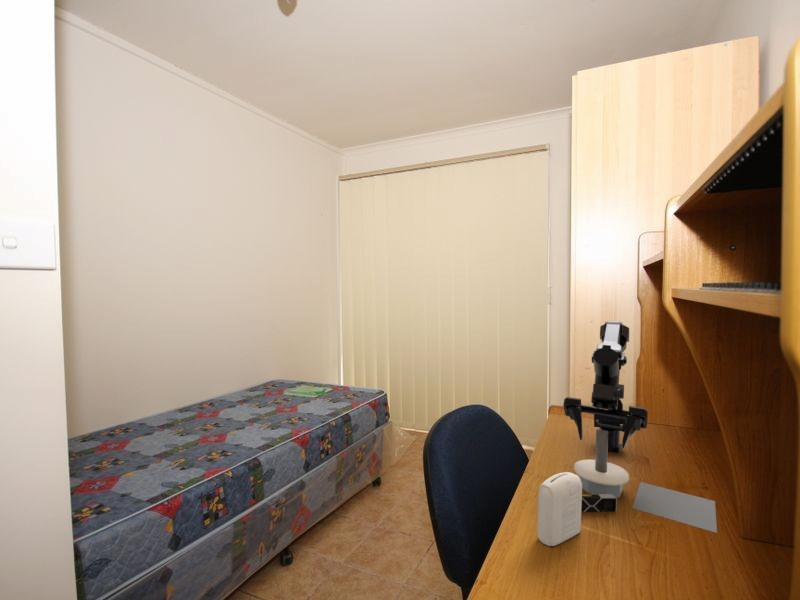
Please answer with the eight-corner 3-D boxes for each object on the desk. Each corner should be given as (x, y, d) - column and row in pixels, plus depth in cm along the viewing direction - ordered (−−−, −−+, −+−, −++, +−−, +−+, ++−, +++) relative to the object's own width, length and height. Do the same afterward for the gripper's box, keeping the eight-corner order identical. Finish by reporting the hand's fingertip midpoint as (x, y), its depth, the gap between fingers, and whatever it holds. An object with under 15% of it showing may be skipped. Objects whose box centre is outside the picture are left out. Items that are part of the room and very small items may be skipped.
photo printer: (565, 522, 87) (566, 464, 86) (584, 532, 83) (585, 472, 82) (533, 538, 81) (535, 477, 80) (552, 550, 77) (554, 486, 77)
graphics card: (564, 516, 90) (567, 498, 88) (559, 507, 92) (562, 489, 90) (616, 515, 90) (620, 497, 88) (610, 506, 92) (613, 488, 91)
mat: (640, 483, 103) (640, 481, 103) (714, 502, 95) (715, 501, 95) (632, 509, 91) (632, 507, 91) (717, 534, 82) (717, 532, 82)
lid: (596, 459, 108) (597, 420, 108) (640, 479, 97) (641, 435, 97) (563, 468, 103) (564, 427, 102) (606, 490, 92) (608, 444, 92)
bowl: (584, 477, 107) (585, 462, 106) (623, 487, 101) (624, 471, 101) (576, 491, 99) (576, 475, 99) (617, 503, 94) (618, 486, 94)
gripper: (565, 366, 107) (557, 420, 98) (648, 375, 98) (648, 435, 89) (569, 389, 114) (561, 441, 105) (647, 399, 105) (646, 457, 96)
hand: (601, 443), depth 98 cm, fingers open, 9 cm apart
